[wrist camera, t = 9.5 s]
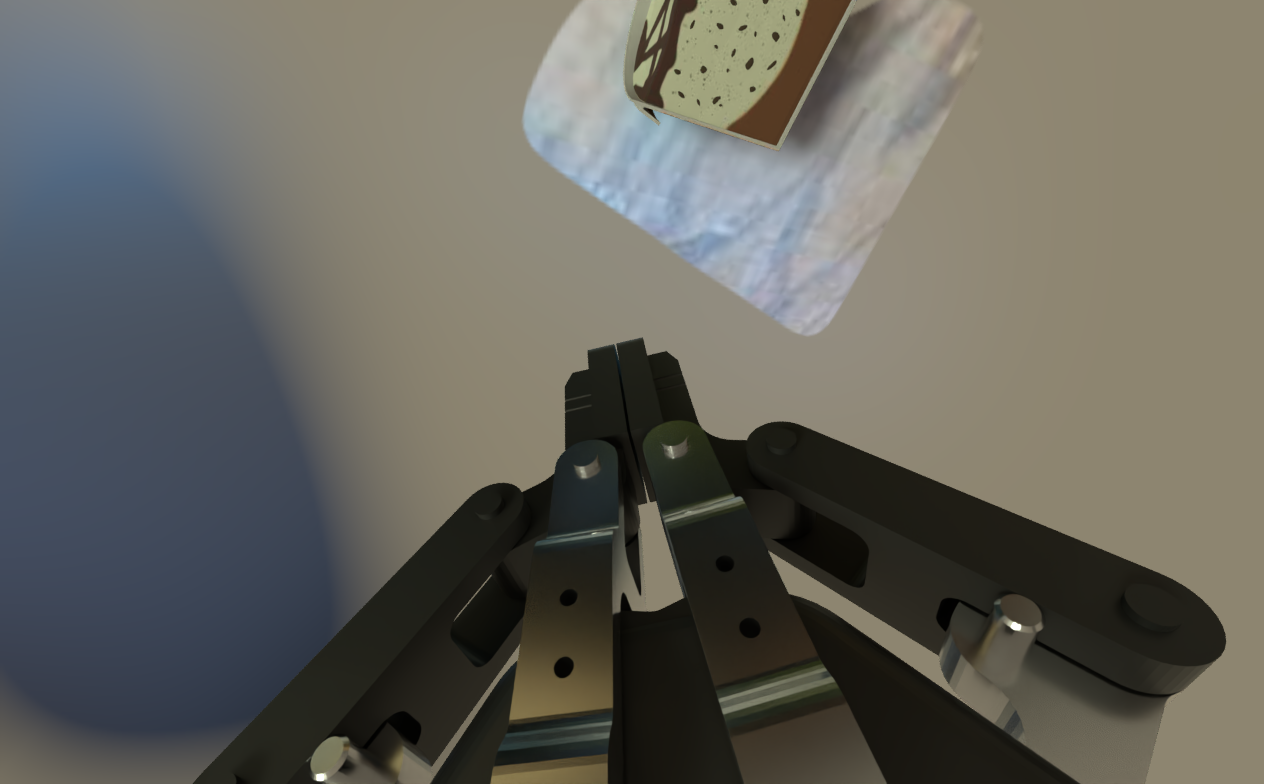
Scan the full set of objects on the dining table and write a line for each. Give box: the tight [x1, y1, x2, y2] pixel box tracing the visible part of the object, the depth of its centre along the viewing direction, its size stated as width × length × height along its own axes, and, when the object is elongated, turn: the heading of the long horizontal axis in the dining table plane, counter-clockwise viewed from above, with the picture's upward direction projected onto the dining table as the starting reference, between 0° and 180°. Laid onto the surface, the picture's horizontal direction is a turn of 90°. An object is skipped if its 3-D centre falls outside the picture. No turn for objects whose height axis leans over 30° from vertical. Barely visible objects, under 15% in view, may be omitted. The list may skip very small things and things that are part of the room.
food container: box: [623, 0, 857, 151], centre depth 30 cm, size 12×6×10 cm
